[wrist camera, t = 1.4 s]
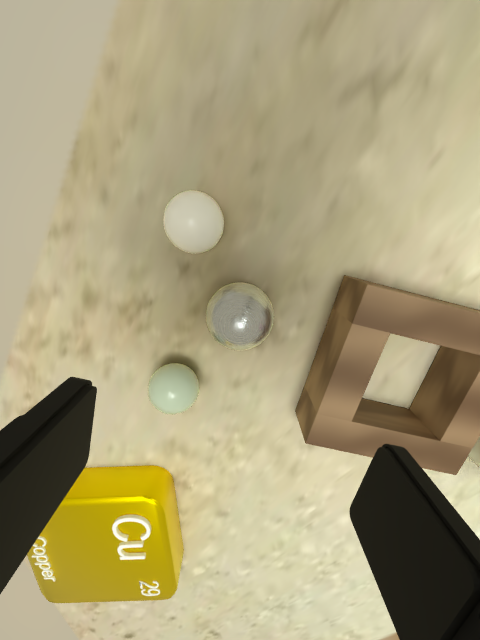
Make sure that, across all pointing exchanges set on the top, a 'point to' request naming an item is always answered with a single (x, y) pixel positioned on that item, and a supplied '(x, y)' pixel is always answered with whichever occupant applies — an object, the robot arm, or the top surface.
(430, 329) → the frame
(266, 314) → the steel ball
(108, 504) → the element tile
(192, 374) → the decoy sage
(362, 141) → the top surface
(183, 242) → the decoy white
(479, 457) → the supplement can
